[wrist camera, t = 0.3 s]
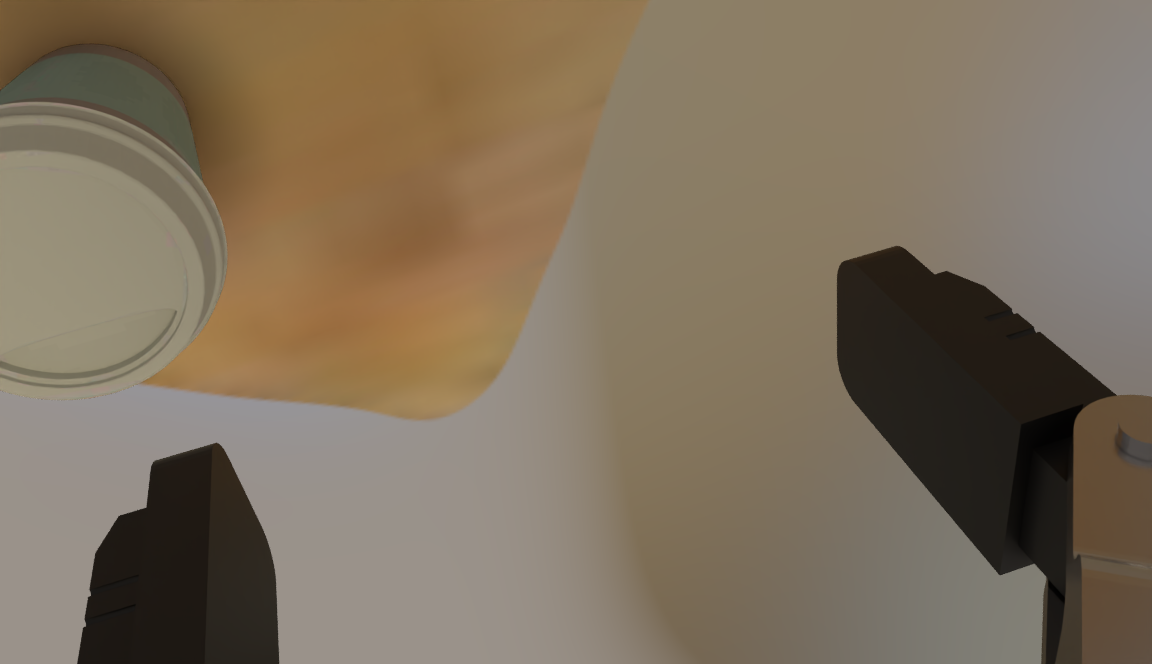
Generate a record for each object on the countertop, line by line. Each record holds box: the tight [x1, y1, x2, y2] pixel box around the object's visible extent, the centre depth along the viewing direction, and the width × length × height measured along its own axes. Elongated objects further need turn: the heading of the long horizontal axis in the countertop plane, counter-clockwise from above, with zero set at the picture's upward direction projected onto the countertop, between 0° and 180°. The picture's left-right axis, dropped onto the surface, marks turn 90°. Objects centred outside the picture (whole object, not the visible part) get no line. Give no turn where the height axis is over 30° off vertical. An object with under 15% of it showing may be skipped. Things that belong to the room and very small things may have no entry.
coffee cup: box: [0, 44, 227, 400], centre depth 31 cm, size 9×8×12 cm
